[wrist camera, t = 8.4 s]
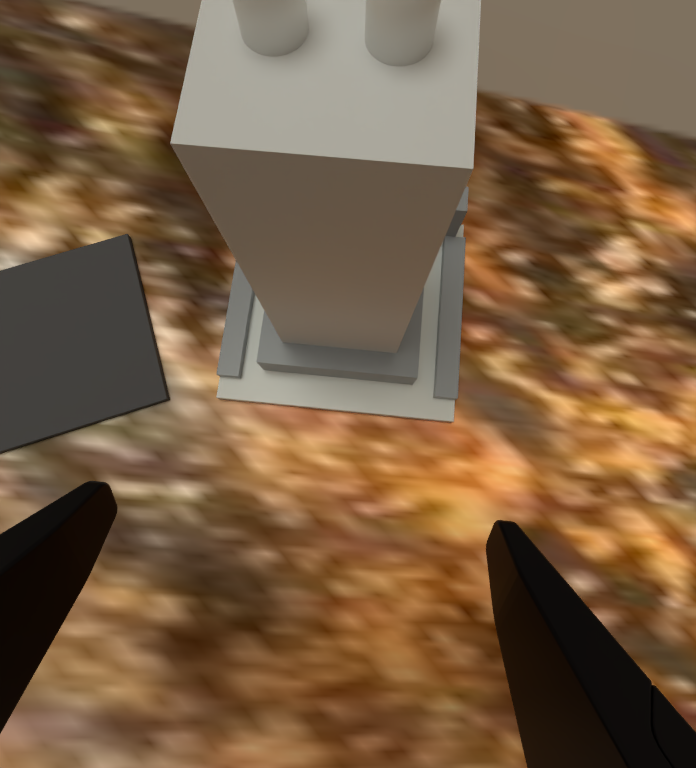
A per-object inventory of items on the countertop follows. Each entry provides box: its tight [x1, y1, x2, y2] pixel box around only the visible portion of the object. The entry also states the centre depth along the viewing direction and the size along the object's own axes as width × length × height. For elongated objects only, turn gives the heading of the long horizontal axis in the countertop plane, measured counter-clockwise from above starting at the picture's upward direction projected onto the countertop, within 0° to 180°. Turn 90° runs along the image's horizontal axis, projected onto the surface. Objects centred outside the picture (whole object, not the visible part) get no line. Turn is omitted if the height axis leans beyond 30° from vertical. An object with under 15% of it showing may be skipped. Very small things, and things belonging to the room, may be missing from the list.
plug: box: [170, 0, 481, 385], centre depth 12 cm, size 7×7×14 cm
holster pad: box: [0, 234, 170, 453], centre depth 19 cm, size 9×9×1 cm
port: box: [217, 187, 468, 423], centre depth 18 cm, size 10×11×3 cm
